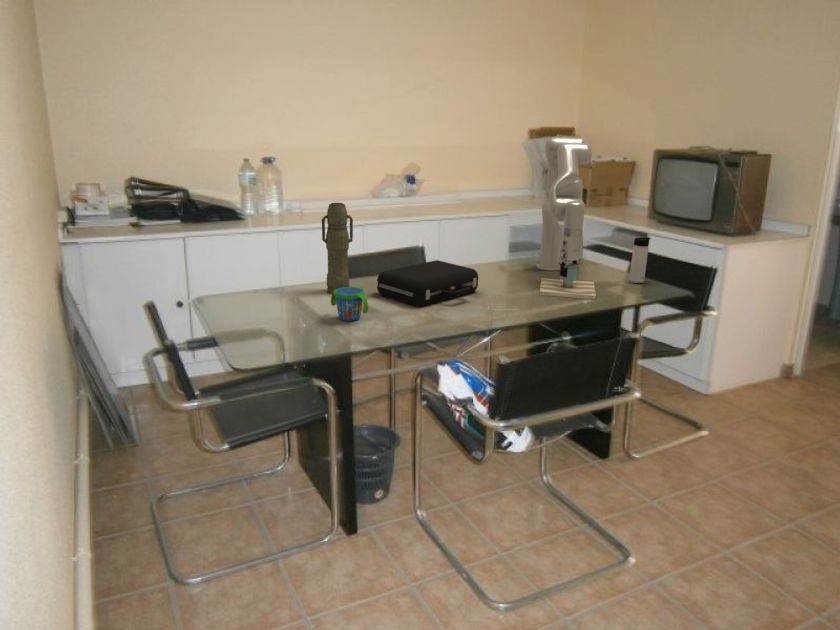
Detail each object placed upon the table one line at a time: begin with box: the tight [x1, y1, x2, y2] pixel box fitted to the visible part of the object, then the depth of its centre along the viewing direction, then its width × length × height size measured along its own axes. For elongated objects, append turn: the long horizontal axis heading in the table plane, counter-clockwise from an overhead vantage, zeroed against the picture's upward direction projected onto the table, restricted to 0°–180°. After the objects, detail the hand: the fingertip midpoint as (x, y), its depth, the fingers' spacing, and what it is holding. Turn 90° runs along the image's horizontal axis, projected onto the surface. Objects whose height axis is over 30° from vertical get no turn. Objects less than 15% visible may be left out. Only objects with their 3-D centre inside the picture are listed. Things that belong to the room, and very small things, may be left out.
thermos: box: [321, 202, 354, 295], centre depth 257 cm, size 9×12×35 cm
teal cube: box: [559, 262, 579, 281], centre depth 270 cm, size 6×6×6 cm
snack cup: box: [330, 286, 369, 322], centre depth 228 cm, size 16×10×10 cm
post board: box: [539, 277, 597, 300], centre depth 271 cm, size 22×22×10 cm
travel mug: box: [628, 236, 651, 284], centre depth 284 cm, size 6×7×20 cm
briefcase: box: [376, 259, 479, 308], centre depth 259 cm, size 36×32×10 cm
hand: (568, 274), depth 270 cm, fingers closed on teal cube, 6 cm apart
